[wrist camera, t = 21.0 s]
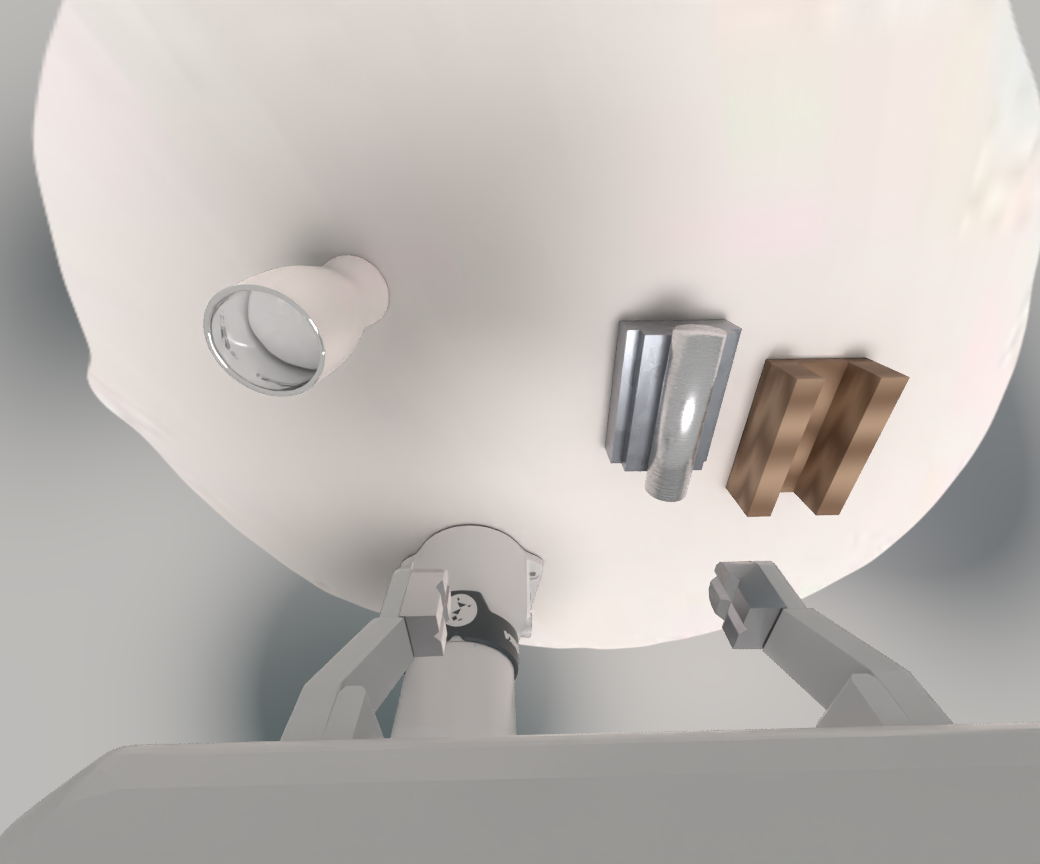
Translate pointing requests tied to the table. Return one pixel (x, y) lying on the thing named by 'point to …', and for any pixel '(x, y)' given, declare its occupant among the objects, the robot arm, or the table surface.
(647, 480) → the axle
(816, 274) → the table surface
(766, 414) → the wooden channel cradle
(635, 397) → the v block
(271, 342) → the beer glass
